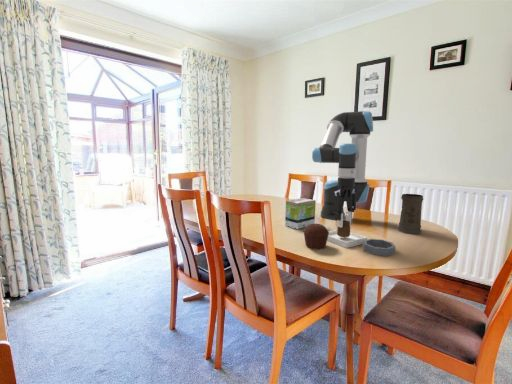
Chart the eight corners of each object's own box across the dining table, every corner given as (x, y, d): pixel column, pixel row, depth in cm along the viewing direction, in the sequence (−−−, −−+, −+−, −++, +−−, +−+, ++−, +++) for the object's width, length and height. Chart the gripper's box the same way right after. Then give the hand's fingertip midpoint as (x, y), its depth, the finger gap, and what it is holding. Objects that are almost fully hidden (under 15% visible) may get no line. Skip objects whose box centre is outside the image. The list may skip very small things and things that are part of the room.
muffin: (313, 240, 133) (314, 219, 132) (333, 246, 125) (334, 224, 123) (297, 245, 125) (298, 224, 124) (317, 252, 117) (318, 230, 116)
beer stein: (424, 235, 140) (427, 195, 138) (401, 233, 142) (404, 195, 140) (413, 228, 155) (416, 193, 153) (393, 227, 157) (395, 192, 155)
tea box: (298, 229, 150) (298, 203, 148) (284, 225, 157) (285, 200, 155) (315, 224, 160) (316, 199, 157) (301, 221, 167) (302, 197, 165)
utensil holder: (343, 238, 128) (344, 213, 126) (333, 234, 134) (335, 210, 132) (352, 236, 131) (354, 211, 129) (343, 232, 136) (344, 209, 134)
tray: (320, 238, 136) (320, 233, 136) (340, 233, 143) (340, 228, 143) (346, 248, 122) (346, 242, 122) (367, 242, 129) (367, 237, 129)
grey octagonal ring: (357, 248, 122) (358, 242, 121) (375, 243, 128) (375, 237, 127) (382, 257, 112) (382, 250, 111) (400, 252, 118) (400, 245, 117)
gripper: (338, 179, 120) (336, 230, 124) (366, 176, 129) (363, 224, 133) (326, 177, 127) (324, 226, 130) (353, 175, 136) (350, 221, 139)
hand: (344, 225), depth 132 cm, fingers closed on utensil holder, 5 cm apart
